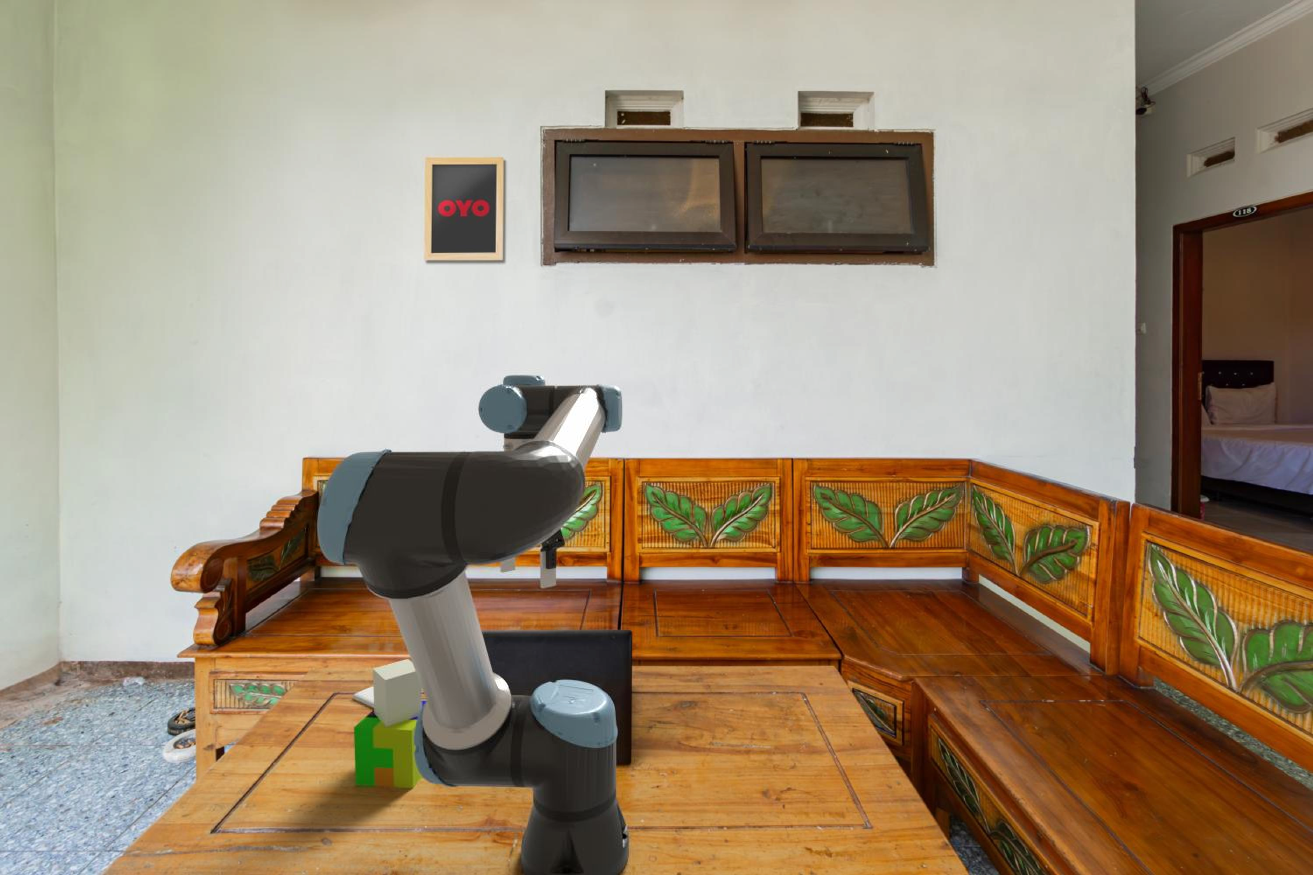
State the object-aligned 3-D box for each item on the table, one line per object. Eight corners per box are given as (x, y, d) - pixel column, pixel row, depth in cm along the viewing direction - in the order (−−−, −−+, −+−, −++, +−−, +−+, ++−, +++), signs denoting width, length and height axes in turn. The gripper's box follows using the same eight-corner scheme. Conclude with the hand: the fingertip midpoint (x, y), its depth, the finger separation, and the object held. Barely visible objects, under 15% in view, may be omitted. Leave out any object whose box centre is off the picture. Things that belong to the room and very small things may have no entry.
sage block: (422, 714, 109) (421, 669, 109) (386, 726, 105) (385, 679, 105) (409, 702, 114) (407, 658, 113) (374, 713, 109) (372, 668, 109)
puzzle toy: (439, 754, 115) (438, 701, 114) (413, 788, 105) (411, 730, 104) (386, 751, 115) (385, 698, 115) (355, 785, 106) (353, 727, 105)
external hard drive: (387, 686, 143) (422, 700, 136) (353, 701, 136) (388, 716, 129) (387, 679, 142) (422, 693, 136) (353, 693, 136) (388, 709, 129)
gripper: (473, 458, 120) (475, 568, 121) (546, 469, 102) (548, 598, 103) (508, 455, 125) (509, 561, 126) (584, 465, 107) (585, 588, 108)
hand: (527, 578), depth 115 cm, fingers open, 13 cm apart
